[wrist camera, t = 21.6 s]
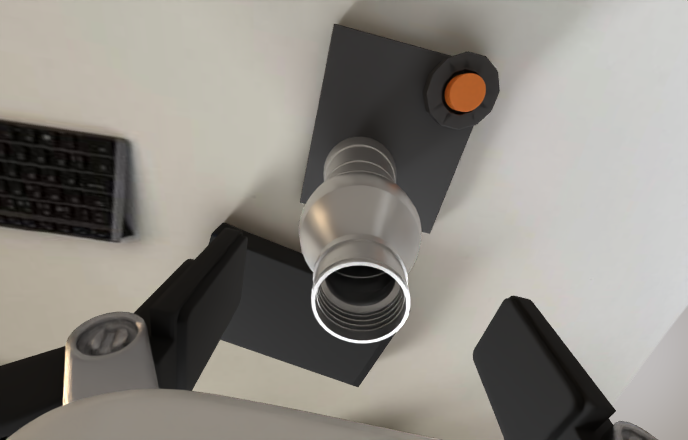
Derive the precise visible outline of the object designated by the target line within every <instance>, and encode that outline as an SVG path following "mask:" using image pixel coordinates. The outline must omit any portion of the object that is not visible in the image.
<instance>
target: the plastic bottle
mask: <svg viewBox="0 0 688 440" xmlns="http://www.w3.org/2000/svg"><path fill="white" fill-rule="evenodd" d="M323 174H324V182H323V183H322V184H321V185H320V186H319V187H318V188H317V189H316V190H315V191H314V193H313V194H312V195H311V196H310V198H309V199H308V201H307V203H306V204H305V206H304V208H303V210H302V213H301V217H300V220H299V238H300V245H301V250H302V253H303V256H304V258H305V261H306V262H307V264H308V266H309V267H310V269H311V270H312V271H313V287H312V294H311V303H312V310H313V312H314V315H315V317H316V319H317V320H318V322H319V324H320V325H321V326H322V327H323V328H324V329H325V330H326V331H328V332H329V333H330V334H332V335H333V336H335V337H337V338H339V339H342V340H345V341H348V342H354V343H372V342H377V341H380V340H383V339H386V338H388V337H390V336H391V335H393V334H394V333H396V332H397V331H398V330H399V329H400V328H401V327H402V326H403V324H404V323H405V321H406V319H407V317H408V314H409V311H410V294H409V289H408V275H407V274H408V273H409V272H410V270H411V269H412V267H413V265H414V263H415V262H416V260H417V256H418V252H419V249H420V244H421V232H422V229H421V223H420V218H419V215H418V213H417V210H416V208H415V206H414V205H413V203H412V202H411V200H410V199H409V197H408V196H407V194H406V193H405V192H404V191H403V190H402V189H401V188H400V187H399V186H398V185H397V184H396V166H395V162H394V159H393V157H392V155H391V154H390V152H389V151H388V150H387V149H386V148H385V147H384V146H383V145H382V144H381V143H379V142H378V141H376V140H373V139H371V138H367V137H352V138H348V139H345V140H343V141H341V142H340V143H338V144H337V145H336V146H335V147H334V148H333V149H332V150H331V151H330V153H329V154H328V156H327V158H326V161H325V164H324V172H323Z"/></svg>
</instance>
